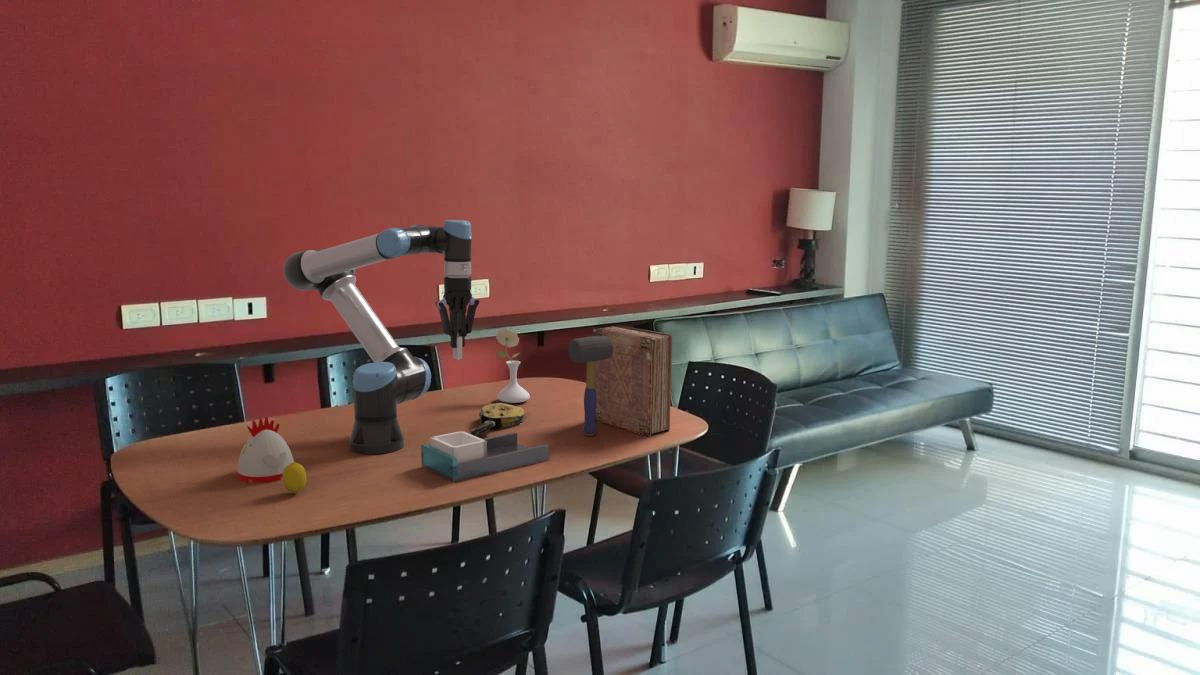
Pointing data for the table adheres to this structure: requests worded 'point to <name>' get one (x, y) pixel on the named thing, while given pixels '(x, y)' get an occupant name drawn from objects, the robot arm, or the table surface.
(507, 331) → the flower in vase
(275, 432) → the kitchen timer
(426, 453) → the bay
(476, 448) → the crate
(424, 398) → the table surface
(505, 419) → the pulley block
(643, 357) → the book
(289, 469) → the lemon
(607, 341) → the rubber mallet
